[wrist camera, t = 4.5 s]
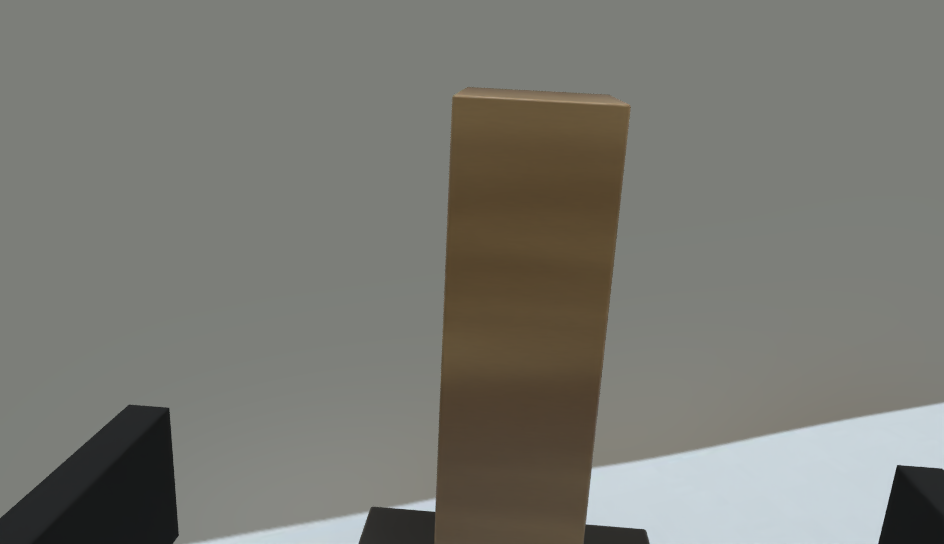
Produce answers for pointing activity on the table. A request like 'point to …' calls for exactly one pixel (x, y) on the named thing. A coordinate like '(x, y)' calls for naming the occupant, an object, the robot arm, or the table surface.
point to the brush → (522, 321)
